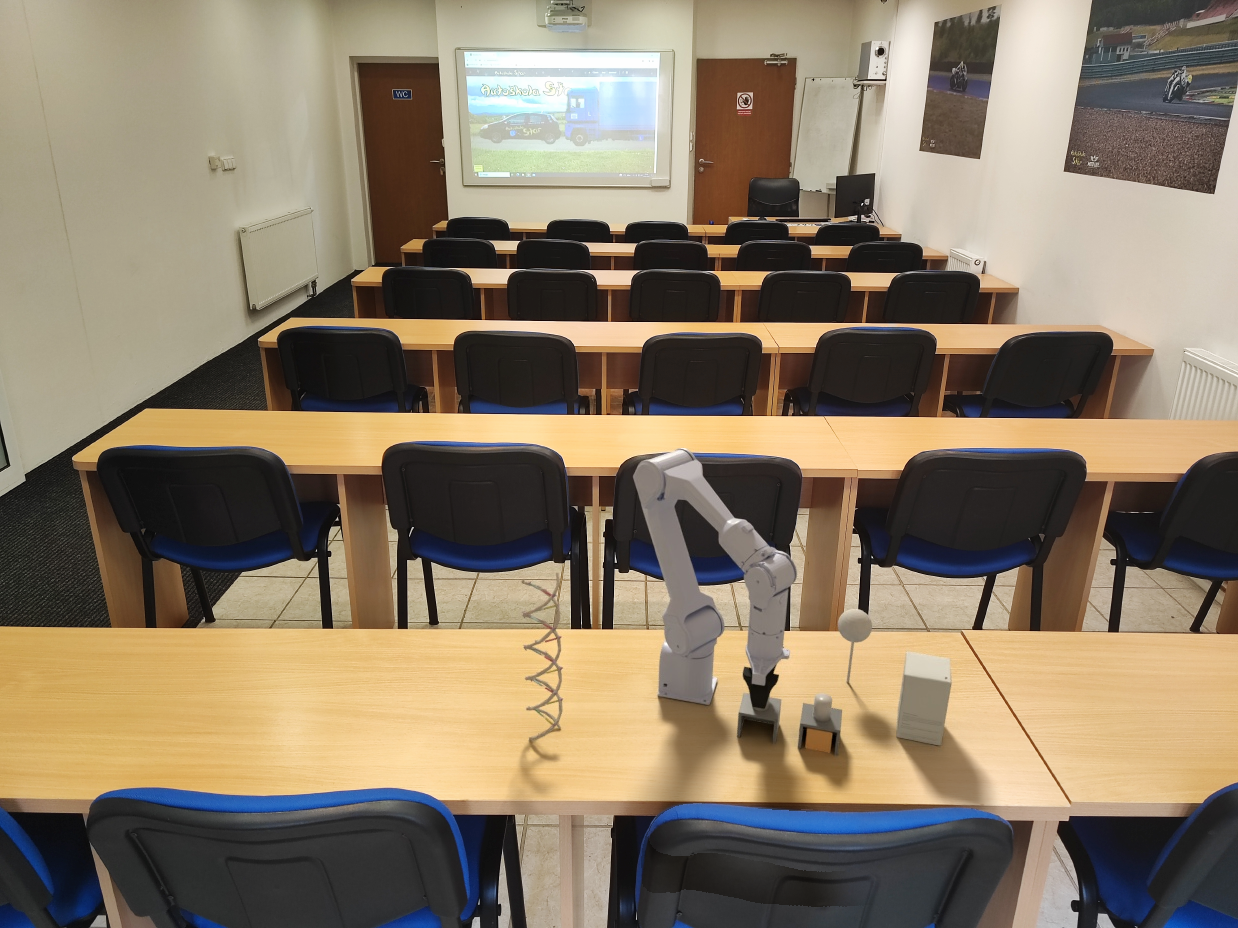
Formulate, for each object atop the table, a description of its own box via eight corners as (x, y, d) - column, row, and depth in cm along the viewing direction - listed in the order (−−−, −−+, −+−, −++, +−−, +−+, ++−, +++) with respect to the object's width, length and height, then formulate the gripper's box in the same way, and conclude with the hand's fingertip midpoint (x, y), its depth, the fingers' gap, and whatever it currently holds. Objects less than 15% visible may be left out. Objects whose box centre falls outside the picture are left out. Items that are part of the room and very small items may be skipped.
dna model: (534, 751, 143) (528, 590, 132) (519, 728, 149) (512, 571, 137) (571, 739, 146) (569, 580, 135) (556, 717, 151) (552, 562, 140)
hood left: (736, 736, 147) (739, 694, 144) (741, 716, 152) (744, 675, 149) (775, 744, 145) (779, 701, 142) (779, 723, 150) (783, 681, 147)
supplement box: (941, 720, 152) (952, 657, 147) (941, 747, 145) (952, 683, 140) (896, 710, 154) (906, 649, 149) (894, 737, 147) (904, 673, 142)
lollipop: (865, 694, 158) (875, 622, 152) (831, 690, 159) (840, 618, 153) (863, 674, 164) (872, 604, 158) (831, 670, 165) (839, 600, 159)
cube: (805, 748, 145) (807, 728, 143) (807, 732, 148) (809, 713, 147) (830, 752, 144) (832, 732, 142) (831, 737, 147) (833, 717, 146)
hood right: (797, 748, 145) (801, 705, 141) (800, 727, 149) (804, 685, 146) (837, 755, 143) (842, 712, 140) (839, 734, 148) (844, 691, 145)
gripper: (787, 654, 134) (780, 727, 139) (796, 606, 147) (789, 674, 152) (740, 646, 135) (735, 719, 140) (753, 600, 148) (748, 668, 153)
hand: (760, 695), depth 146 cm, fingers open, 5 cm apart
